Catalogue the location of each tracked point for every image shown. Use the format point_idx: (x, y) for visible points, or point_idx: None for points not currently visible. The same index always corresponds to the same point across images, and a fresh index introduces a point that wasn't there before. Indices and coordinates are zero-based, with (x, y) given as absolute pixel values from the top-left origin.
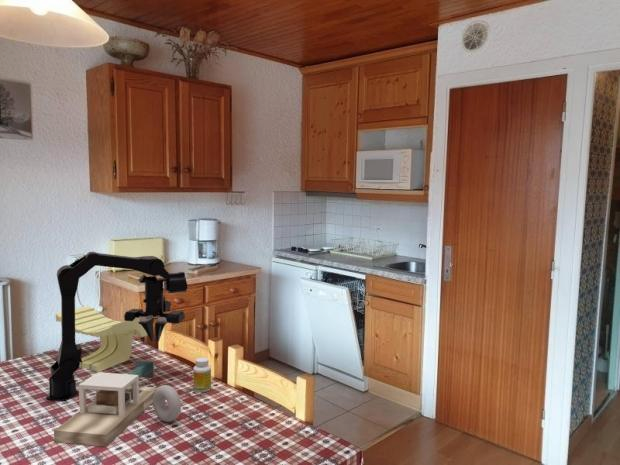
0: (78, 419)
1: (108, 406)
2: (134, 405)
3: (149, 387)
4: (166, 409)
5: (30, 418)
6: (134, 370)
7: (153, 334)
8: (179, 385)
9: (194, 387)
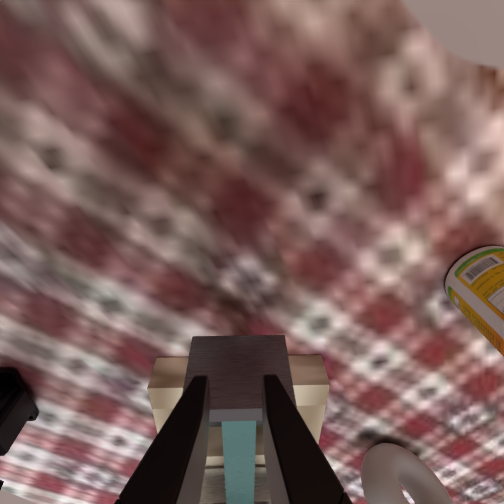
0: None
1: None
2: None
3: (294, 387)
4: (401, 480)
5: (47, 477)
6: (231, 456)
7: (196, 445)
8: (374, 257)
9: (456, 306)
